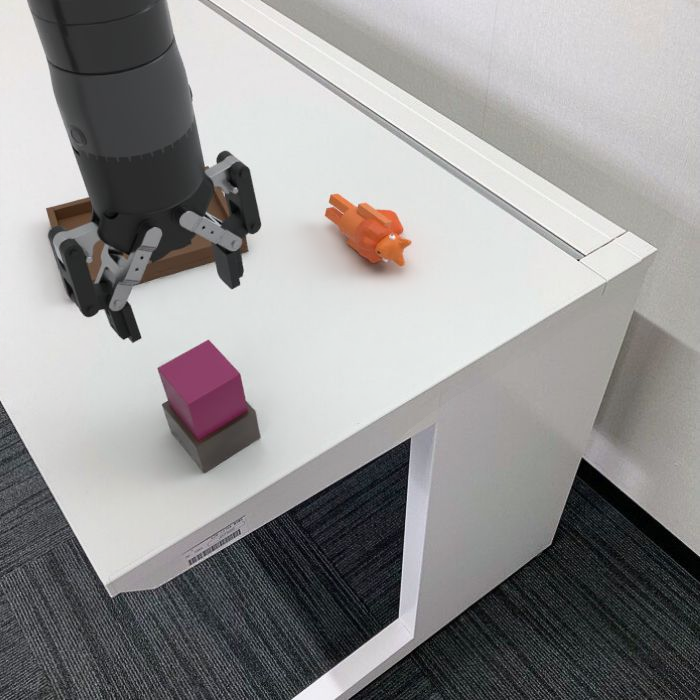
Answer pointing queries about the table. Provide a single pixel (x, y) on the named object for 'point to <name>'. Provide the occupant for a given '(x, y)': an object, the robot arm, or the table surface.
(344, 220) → the orange toy animal
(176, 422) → the dark brown block
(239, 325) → the table surface
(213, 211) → the tray
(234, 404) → the mulberry block
